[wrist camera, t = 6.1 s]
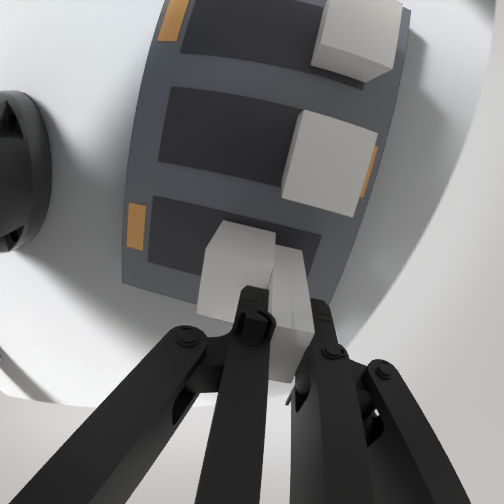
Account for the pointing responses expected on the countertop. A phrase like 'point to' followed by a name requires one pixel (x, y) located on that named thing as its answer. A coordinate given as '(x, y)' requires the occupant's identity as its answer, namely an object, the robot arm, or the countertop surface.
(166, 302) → the countertop surface
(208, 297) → the switch tab
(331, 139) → the switch tab
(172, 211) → the switch panel
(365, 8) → the switch tab
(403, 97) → the countertop surface
